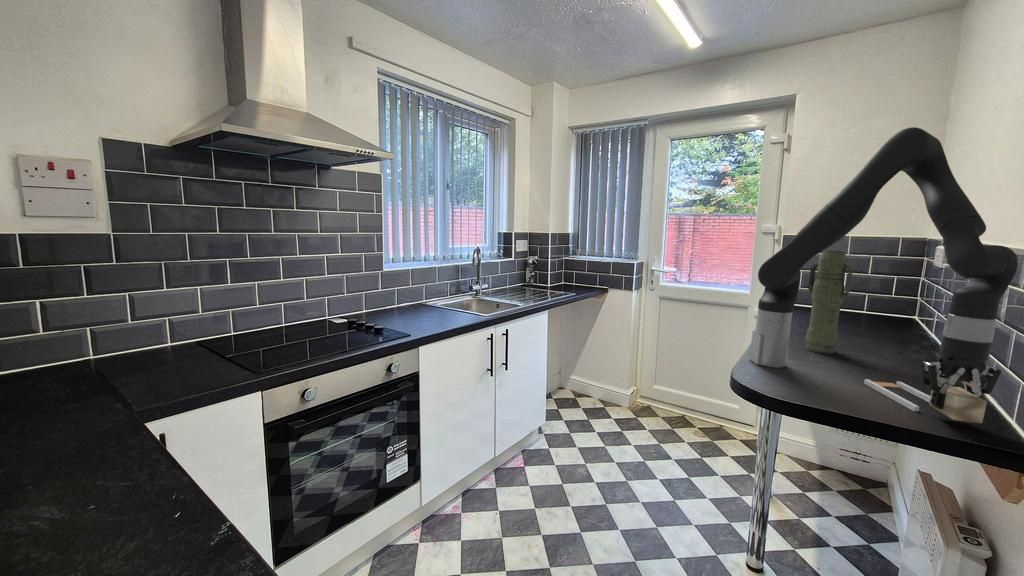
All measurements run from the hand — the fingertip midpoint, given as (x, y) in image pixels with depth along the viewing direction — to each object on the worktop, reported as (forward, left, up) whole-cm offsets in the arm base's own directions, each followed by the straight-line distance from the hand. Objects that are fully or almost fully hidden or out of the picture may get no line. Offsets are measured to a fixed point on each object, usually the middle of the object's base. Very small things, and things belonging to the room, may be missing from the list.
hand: (952, 408), depth 96 cm
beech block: (0, -1, -1) cm, 1 cm away
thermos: (+1, +55, -3) cm, 56 cm away
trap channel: (0, +13, -3) cm, 14 cm away
